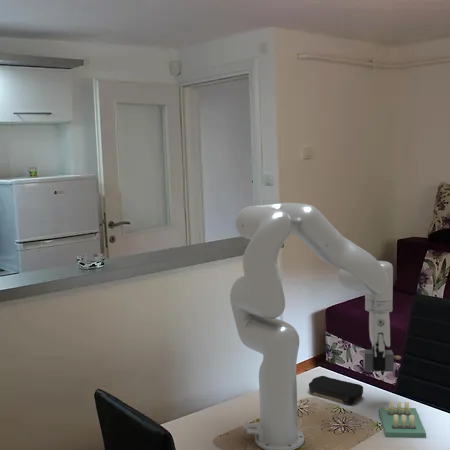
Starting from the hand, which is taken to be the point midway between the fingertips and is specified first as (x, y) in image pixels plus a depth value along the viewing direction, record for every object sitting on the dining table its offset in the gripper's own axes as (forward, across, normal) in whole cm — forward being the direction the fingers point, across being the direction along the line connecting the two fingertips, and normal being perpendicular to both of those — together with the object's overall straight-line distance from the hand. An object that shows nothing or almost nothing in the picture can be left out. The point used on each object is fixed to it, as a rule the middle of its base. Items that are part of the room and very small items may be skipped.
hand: (378, 366), depth 172 cm
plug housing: (+1, 0, -1) cm, 1 cm away
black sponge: (+12, +6, +12) cm, 18 cm away
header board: (+11, -12, -5) cm, 17 cm away
